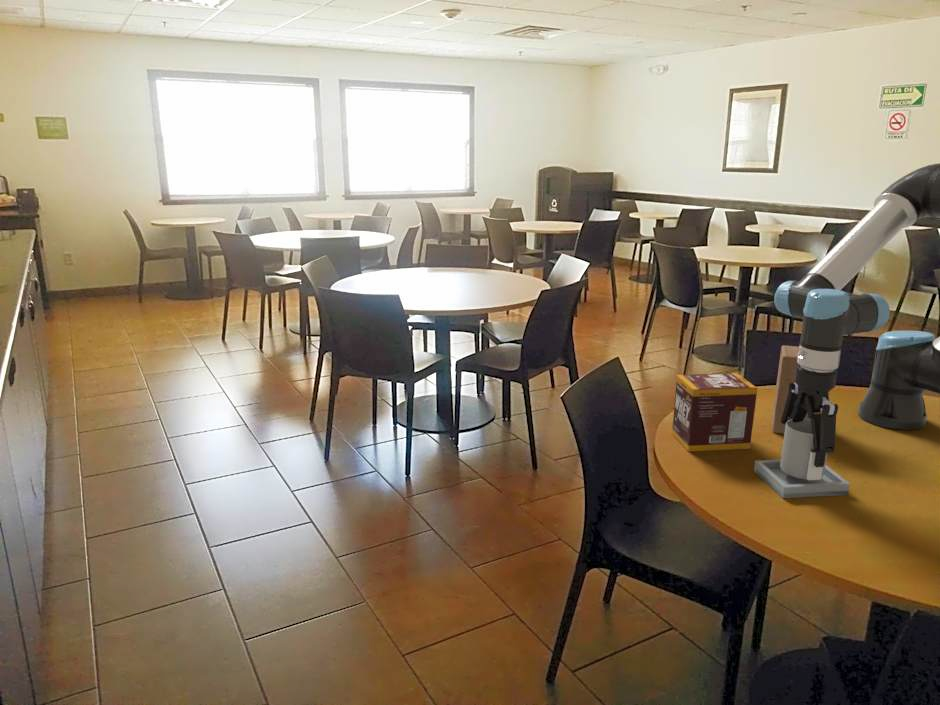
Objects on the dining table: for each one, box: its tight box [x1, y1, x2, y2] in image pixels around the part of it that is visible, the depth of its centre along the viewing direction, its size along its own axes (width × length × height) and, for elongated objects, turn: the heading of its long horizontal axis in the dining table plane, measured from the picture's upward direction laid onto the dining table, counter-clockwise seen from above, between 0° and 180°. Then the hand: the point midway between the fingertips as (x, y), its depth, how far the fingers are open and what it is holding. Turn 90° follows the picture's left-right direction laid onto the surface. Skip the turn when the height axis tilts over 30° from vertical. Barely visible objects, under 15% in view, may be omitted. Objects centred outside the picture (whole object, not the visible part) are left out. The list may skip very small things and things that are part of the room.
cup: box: [780, 419, 828, 479], centre depth 143 cm, size 8×8×10 cm
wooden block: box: [771, 345, 821, 435], centre depth 169 cm, size 10×10×20 cm
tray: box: [753, 458, 851, 499], centre depth 145 cm, size 14×12×2 cm
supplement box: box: [671, 372, 758, 452], centre depth 163 cm, size 10×15×16 cm
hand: (801, 468), depth 145 cm, fingers closed on cup, 8 cm apart
